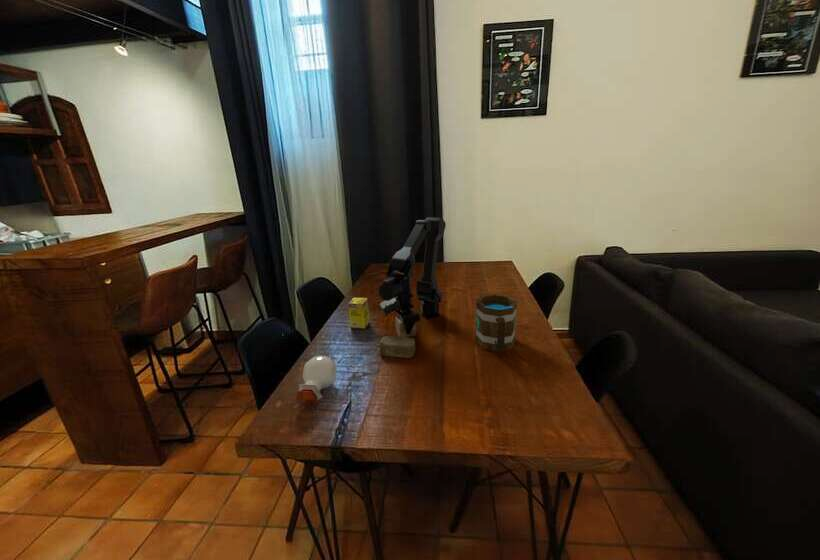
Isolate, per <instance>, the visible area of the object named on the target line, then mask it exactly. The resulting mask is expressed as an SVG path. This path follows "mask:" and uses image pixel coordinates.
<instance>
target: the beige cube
mask: <svg viewBox="0 0 820 560" xmlns="http://www.w3.org/2000/svg"><path fill="white" fill-rule="evenodd" d="M394 320H395V323H394V324H395V331H396V333H397V335H398V337H407V338H411V337H414V336H417V330H416V329H417V327H416V323H415V324H414V326H413V328H412V331H411V333H410V334H408V335H407V333H406V329H405V325H404V324H403V323H402V322H401V320H400V316H398V315H397V316H395V317H394Z"/></svg>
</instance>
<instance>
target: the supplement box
mask: <svg viewBox="0 0 820 560" xmlns="http://www.w3.org/2000/svg"><path fill="white" fill-rule="evenodd" d="M348 313H349V323H350V329H351V330H360V331H365V330H366V329H367V328H368V326H369V325H370V323H371V321H370V311H369V301H368V297H353V298H351V300H350V301H349V302H348Z"/></svg>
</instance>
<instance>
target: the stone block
mask: <svg viewBox="0 0 820 560" xmlns="http://www.w3.org/2000/svg"><path fill="white" fill-rule="evenodd" d="M415 341H416V340H415V338H414V337H399V336H392V335H391V336H389V335H388V336H387V335H385V336H383V337H382V338H381V341H380V344H379V353H380V355H381V356H382V357H383V356H384V357H393V358H394V357H395V358H404V359H412V358H413V357H414V355H415V353H416V342H415Z"/></svg>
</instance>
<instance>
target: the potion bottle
mask: <svg viewBox="0 0 820 560" xmlns="http://www.w3.org/2000/svg"><path fill="white" fill-rule="evenodd" d="M337 371H338V368H337V364H336V363H335V362H334V361H333V360H332V359H331V358H330V357H328V356H325V355H315V356H312V357H311V358H310V359H309V360H307V362H306V363H305V364H304V367H303V371H302V377H303V381H304V382H305V383H302V384H301V383H299V384H298V385H299V386H298V391H296V398H295V403H297V404H298V405H301V406H303V407H305V408H307V409H312V407H314V406H316V405H317V404H319V401H320V399H322V398H323V397H324V396H323V395H322V393H321V390H325V389H329V387H330V386H331V385H333V383H334V382H335V381H336V377H337V373H338V372H337Z"/></svg>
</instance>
